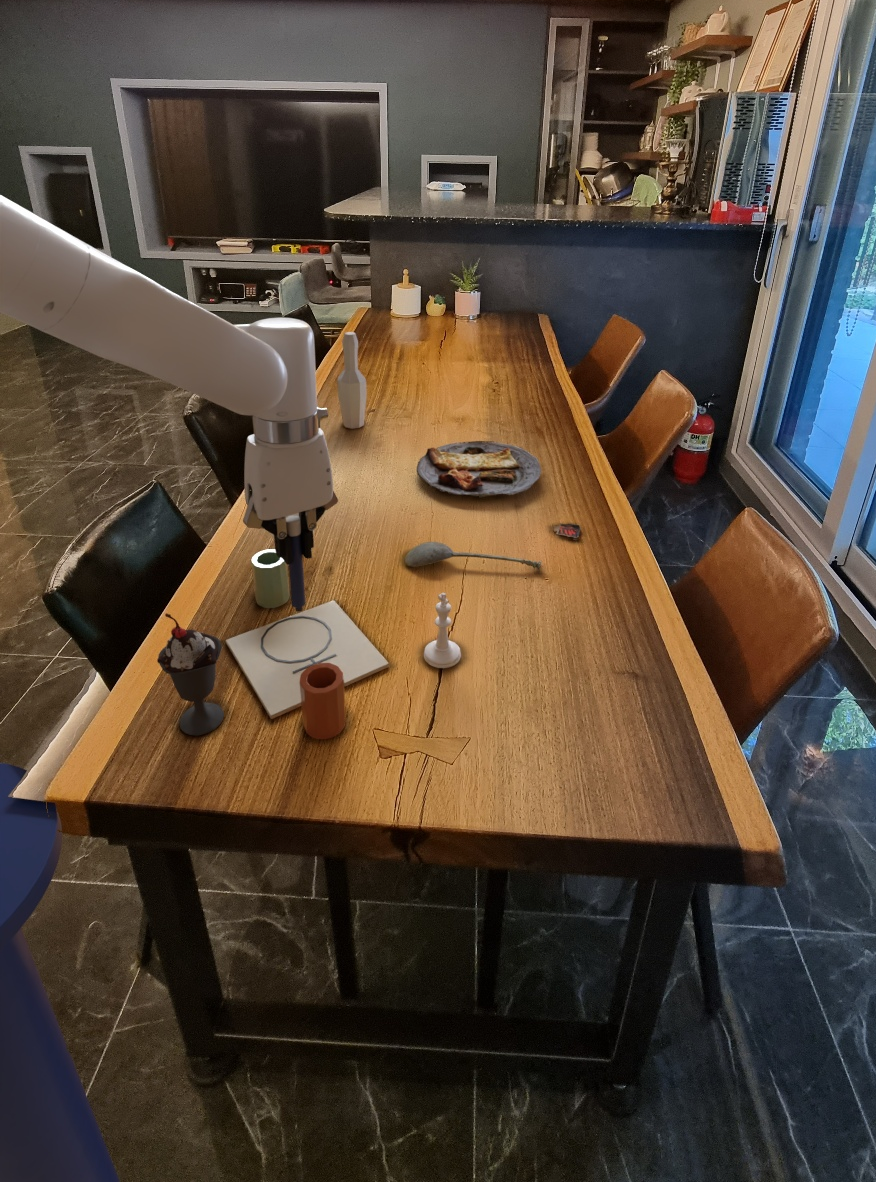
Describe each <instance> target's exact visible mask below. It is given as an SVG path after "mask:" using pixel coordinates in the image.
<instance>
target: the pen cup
mask: <svg viewBox="0 0 876 1182" xmlns="http://www.w3.org/2000/svg"><path fill="white" fill-rule="evenodd" d="M250 564H251V572H252V581H253V590H254V598H255V602H256V604H257V605H258V606H259V607H261V608H265V609H274V608H279V607H281V606H284V605H285V604H286V603H287V602H288V601H289V600H290V598H291V589H290V578H289V567H288V565H287V564H286V563H285V561H284V560H283V559H282V558H279V557H278V556H277V555H276V552H275V548H271V549H268V548H267V549H264V550H261V551H258V552H256V553H255V554H254V555H253V556H252V557H251V561H250Z"/></svg>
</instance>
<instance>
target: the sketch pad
mask: <svg viewBox="0 0 876 1182" xmlns="http://www.w3.org/2000/svg"><path fill="white" fill-rule="evenodd" d="M225 644H226V646H227V648H228V649H229V651H230V653H231V654H232V655H233V657H234V659H235V661H236V662H237V664H238V665H239V668H240V670H241V671H242V672H243V674H244V676H245V678H246V680H247V681H248V683H249V685H250V686H251V688H252V690H253V691H254V693H255V694H256V696H257V698H258V700H259V701H260V703H261V705H262V706H263V709H264V710H265V711H266V713H267V715H268V717H269V718H270V720H274V719H275V718H278V717H280V716H282V715H285V714H287V713H289V712H291V711H293V710H295V709H298V708H300V707H302V704H301V693H300V676H301V674H302V673H303V672H304V671H305V670H306V668H308V667H310V666H312V665H315V664H317V663H331V664H334V665H337V666H338V667H339V668H340V669H341V670H342V672H343V675H344V688H346V687H347V686H349V685H351V684H353V683H356V682H359V681H360V680H363V679H365V678H367V677H369V676H372V675H374V674H377V673H378V672H380V671H383V670H385V669H388V668H389V667H390V664H389V662H388V661H387V659H386V658H385V657H384V656H383V655H382V653H381V652H380V651H379V650H378V649H377V648H376V647H375V645H374V644H373V643H372V642H371V641H370V640H369V639H368V638H367V636H366V635H365V634H364V633H363V632H362V630H361V629H359V627H358V626H357V625H356V623H355V622H353V620H352V619H351V618H350V617H349V616H348V614H347V612H345V611H344V610H343V609H342V608H341V606H340V605H339V604H338V603H337V602H336V601H335V600H334V599H333V600H330V601H328V602H325V603H322V604H319V605H316V606H314V607H311V608H308V609H306V610H302V611H300V612H297V613H295V614H291V615H289V616H286V617H284V618H281V619H278V620H276V621H273V622H271V623H268V624H265V625H262V626H260V627H257V628H254V629H251V630H249V631H246V632H243V633H240V634H238V635H235V636H232V637H230V638H227V639H225Z"/></svg>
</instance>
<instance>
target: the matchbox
mask: <svg viewBox="0 0 876 1182" xmlns="http://www.w3.org/2000/svg"><path fill="white" fill-rule="evenodd" d="M553 532H555V533H556V535H560V536H565V537H571V538H572V540H573V541H579V539H578V538H579V537H580V532H581V527H580V525H579V524H576V523H575V524H574V523H560V524H559V525H554V526H553Z"/></svg>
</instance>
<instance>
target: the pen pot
mask: <svg viewBox="0 0 876 1182" xmlns="http://www.w3.org/2000/svg"><path fill="white" fill-rule="evenodd" d="M300 693H301V704H302V706H301V715H302V724H303V729H304V731H305V733H306V735H308V736H309V737H311V738H313V739H316V740H328V739H332V738H334V737H336V736H338V735H339V734H340V733H341V732H342V731H343V730H344V728H345V726H346V721H347V720H346V718H347V717H346V716H347V715H346V714H347V713H346V695H345V687H344V675H343V672H342V670H341V669H340V668H339V667H338V666H337V665H334V664H331V663H317V664H315V665H312V666H310V667H308V668H306V670H305V671H304V672H303V673H302V674H301V676H300Z"/></svg>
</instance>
